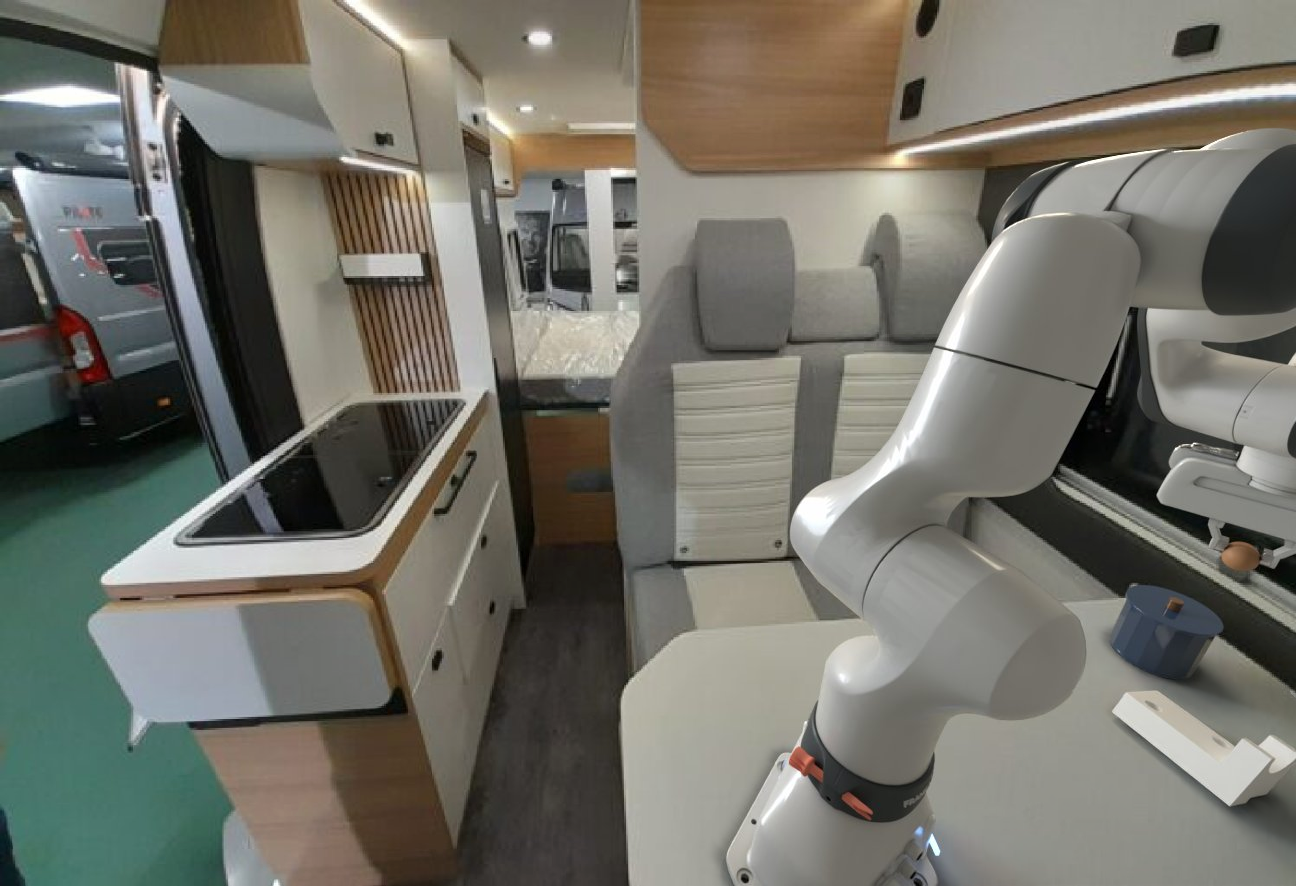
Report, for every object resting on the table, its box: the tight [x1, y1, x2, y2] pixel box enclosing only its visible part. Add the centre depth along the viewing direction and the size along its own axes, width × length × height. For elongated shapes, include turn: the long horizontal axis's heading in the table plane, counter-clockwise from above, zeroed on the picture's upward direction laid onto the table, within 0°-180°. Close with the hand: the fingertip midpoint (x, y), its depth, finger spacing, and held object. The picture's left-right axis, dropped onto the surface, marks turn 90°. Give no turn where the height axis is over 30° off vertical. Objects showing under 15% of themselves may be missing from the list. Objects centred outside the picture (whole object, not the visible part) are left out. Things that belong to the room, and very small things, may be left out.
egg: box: [1220, 541, 1261, 572], centre depth 71 cm, size 5×3×3 cm
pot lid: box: [1125, 584, 1224, 637], centre depth 80 cm, size 11×11×3 cm
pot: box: [1108, 598, 1216, 680], centre depth 82 cm, size 10×10×8 cm
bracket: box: [1111, 690, 1296, 807], centre depth 67 cm, size 13×7×8 cm, turn 16°
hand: (1240, 556), depth 71 cm, fingers closed on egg, 3 cm apart
